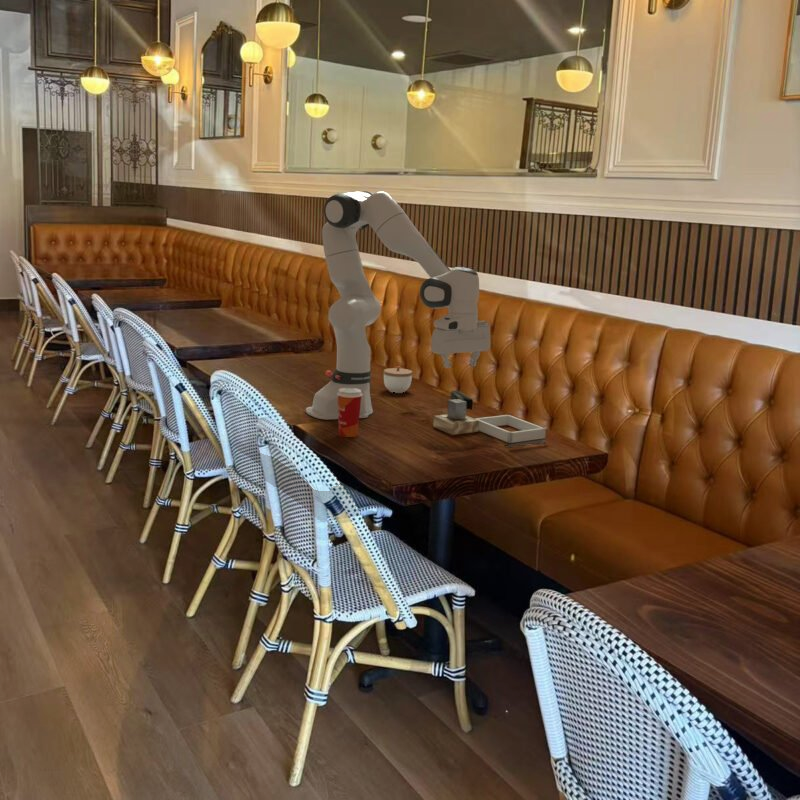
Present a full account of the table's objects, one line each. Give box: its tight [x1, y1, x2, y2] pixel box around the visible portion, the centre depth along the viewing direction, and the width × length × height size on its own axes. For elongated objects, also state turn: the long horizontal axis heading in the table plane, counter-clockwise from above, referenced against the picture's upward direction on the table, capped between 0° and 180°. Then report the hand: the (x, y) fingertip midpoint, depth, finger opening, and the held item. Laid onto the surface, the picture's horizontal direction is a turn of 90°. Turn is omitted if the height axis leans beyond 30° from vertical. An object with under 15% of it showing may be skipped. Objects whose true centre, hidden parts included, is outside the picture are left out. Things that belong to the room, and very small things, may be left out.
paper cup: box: [337, 388, 362, 438], centre depth 263 cm, size 8×8×14 cm
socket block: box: [432, 413, 479, 436], centre depth 271 cm, size 10×10×5 cm
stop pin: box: [447, 399, 467, 421], centre depth 271 cm, size 4×4×9 cm
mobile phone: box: [449, 390, 474, 411], centre depth 307 cm, size 5×3×15 cm
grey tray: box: [474, 414, 547, 448], centre depth 270 cm, size 14×18×4 cm
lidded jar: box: [383, 365, 413, 394], centre depth 325 cm, size 11×11×9 cm
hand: (460, 366), depth 267 cm, fingers open, 8 cm apart
